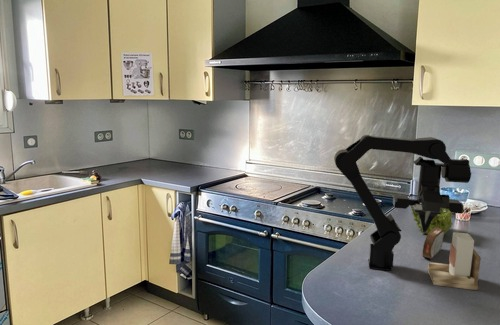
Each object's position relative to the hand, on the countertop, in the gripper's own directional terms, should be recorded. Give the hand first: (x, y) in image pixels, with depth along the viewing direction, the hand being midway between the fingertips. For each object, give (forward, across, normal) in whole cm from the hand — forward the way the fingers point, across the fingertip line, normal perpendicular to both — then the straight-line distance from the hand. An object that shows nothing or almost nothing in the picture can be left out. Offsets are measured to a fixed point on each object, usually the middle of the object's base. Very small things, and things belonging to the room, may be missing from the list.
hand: (424, 231), depth 124 cm
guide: (+12, +8, -5) cm, 15 cm away
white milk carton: (+11, +9, -5) cm, 15 cm away
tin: (+12, +6, +14) cm, 20 cm away
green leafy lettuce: (+12, +9, +38) cm, 41 cm away
